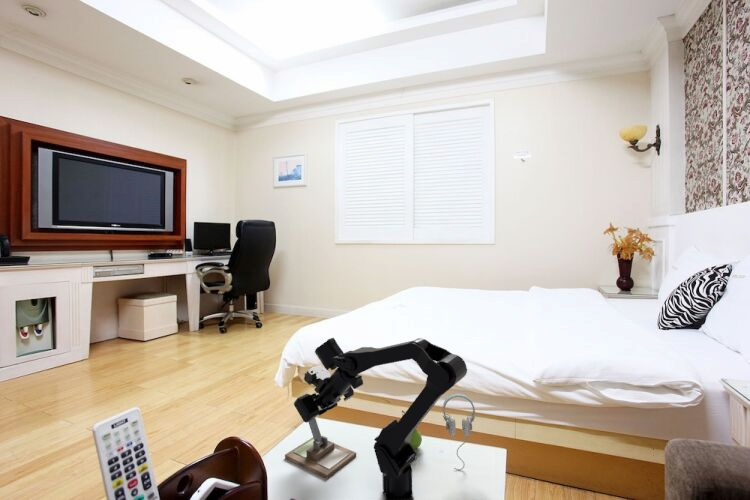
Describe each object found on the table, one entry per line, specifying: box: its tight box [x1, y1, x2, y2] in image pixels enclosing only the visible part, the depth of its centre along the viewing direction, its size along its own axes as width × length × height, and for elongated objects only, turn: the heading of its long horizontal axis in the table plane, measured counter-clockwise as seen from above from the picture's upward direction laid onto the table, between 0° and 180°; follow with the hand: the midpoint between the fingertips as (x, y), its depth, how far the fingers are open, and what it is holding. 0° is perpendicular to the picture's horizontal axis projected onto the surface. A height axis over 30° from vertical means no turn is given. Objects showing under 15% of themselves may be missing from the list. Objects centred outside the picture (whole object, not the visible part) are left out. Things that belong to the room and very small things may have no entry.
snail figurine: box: [401, 410, 423, 450], centre depth 106 cm, size 5×6×12 cm
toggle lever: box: [307, 417, 323, 445], centre depth 104 cm, size 3×3×12 cm
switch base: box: [284, 435, 357, 480], centre depth 102 cm, size 16×12×5 cm
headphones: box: [442, 392, 476, 471], centre depth 95 cm, size 8×4×20 cm, turn 85°
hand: (311, 414), depth 104 cm, fingers closed, pressing on toggle lever
